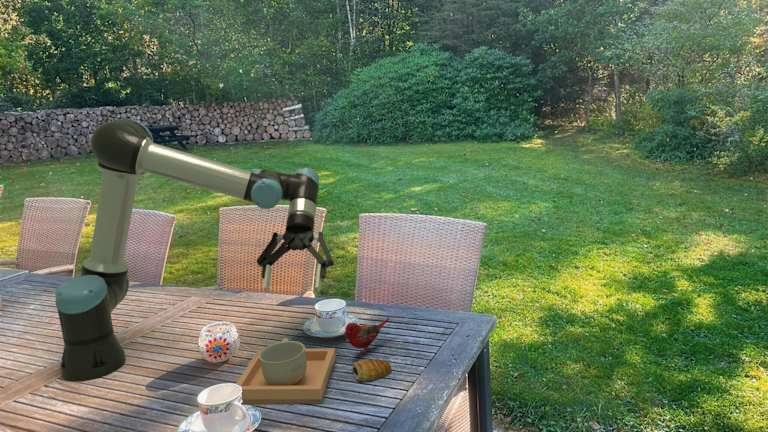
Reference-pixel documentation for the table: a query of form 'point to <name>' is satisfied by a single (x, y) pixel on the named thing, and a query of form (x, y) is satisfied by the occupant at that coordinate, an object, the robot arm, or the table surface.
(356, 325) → the decorative bird figurine
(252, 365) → the shallow wooden tray
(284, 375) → the teacup
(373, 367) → the pastry
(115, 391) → the table surface
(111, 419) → the table surface
